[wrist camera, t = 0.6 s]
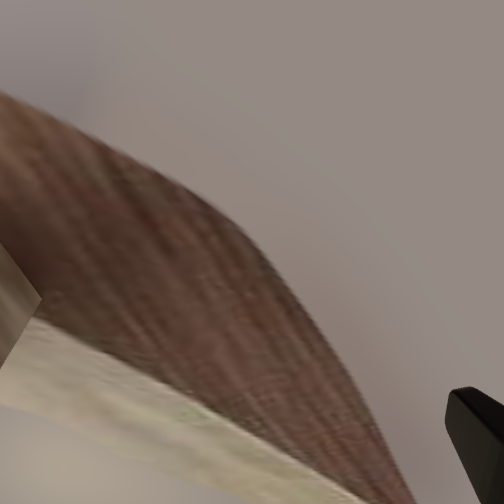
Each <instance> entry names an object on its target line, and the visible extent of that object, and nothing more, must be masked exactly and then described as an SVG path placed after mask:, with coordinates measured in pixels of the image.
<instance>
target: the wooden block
mask: <svg viewBox="0 0 504 504" xmlns="http://www.w3.org/2000/svg"><path fill="white" fill-rule="evenodd" d="M41 300H42V298H41V297H40V296H39V294H38V293H37V292H36V290H35V289H34V287H33V286H32V285H31V283H30V282H29V281H28V279H27V278H26V277H25V275H24V274H23V272H22V271H21V270H20V268H19V267H18V266H17V264H16V263H15V261H14V260H13V259H12V257H11V256H10V255H9V253H8V252H7V250H6V249H5V248H4V246H3V245H2V244H1V242H0V368H1V367H2V365H3V363H4V362H5V360H6V358H7V357H8V355H9V353H10V352H11V350H12V348H13V347H14V345H15V343H16V342H17V340H18V338H19V337H20V335H21V333H22V332H23V330H24V328H25V327H26V325H27V323H28V322H29V320H30V318H31V317H32V315H33V313H34V312H35V310H36V308H37V307H38V305H39V303H40V302H41Z"/></svg>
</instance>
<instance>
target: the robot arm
mask: <svg viewBox="0 0 504 504" xmlns="http://www.w3.org/2000/svg"><path fill="white" fill-rule="evenodd" d="M445 425H446V429H447V432H448V434H449V436H450V438H451V441H452V443H453V445H454V447H455V449H456V451H457V454H458V456H459V458H460V460H461V462H462V464H463V466H464V469H465V471H466V473H467V475H468V477H469V480H470V482H471V484H472V486H473V488H474V490H475V493H476V495H477V497H478V499H479V501H480V503H481V504H504V405H502V404H501V403H499V402H498V401H496V400H494V399H493V398H491V397H489V396H488V395H486V394H485V393H483V392H481V391H479V390H478V389H476V388H474V387H463V388H458V389H454V390H452V391H451V392H450V393H449V398H448V404H447V409H446V415H445Z"/></svg>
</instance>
